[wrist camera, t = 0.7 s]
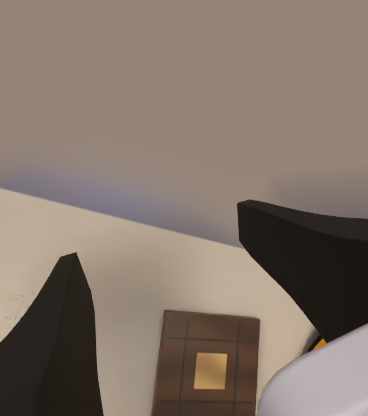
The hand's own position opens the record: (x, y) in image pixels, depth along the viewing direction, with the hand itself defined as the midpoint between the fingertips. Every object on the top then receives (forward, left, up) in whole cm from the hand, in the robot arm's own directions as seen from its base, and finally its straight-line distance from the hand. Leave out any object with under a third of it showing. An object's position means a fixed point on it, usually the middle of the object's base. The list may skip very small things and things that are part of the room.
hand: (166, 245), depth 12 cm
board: (-12, -13, -25) cm, 31 cm away
